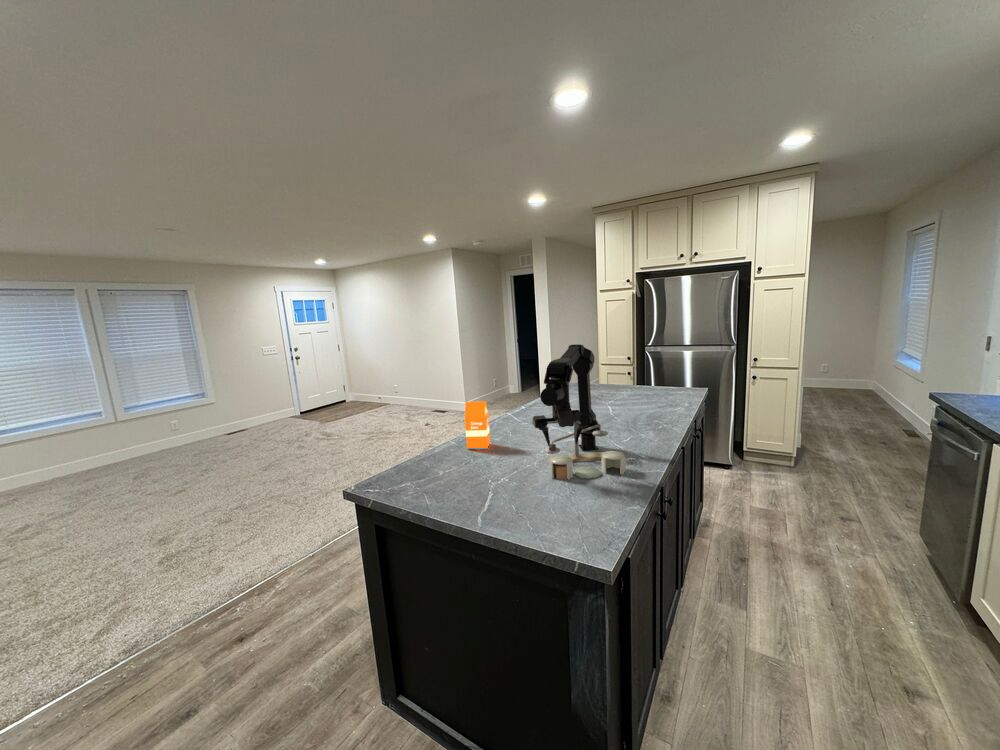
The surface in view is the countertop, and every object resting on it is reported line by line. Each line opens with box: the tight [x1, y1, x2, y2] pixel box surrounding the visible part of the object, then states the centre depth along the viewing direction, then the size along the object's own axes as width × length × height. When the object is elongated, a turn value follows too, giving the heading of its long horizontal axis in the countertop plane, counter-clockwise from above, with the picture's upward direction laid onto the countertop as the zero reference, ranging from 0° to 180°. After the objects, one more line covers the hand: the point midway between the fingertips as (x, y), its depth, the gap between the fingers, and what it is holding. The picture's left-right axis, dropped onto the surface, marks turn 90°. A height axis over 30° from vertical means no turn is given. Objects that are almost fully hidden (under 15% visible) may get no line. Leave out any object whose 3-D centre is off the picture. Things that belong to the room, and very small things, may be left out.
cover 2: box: [601, 450, 626, 475], centre depth 137 cm, size 7×7×6 cm
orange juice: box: [464, 401, 491, 449], centre depth 170 cm, size 8×9×20 cm
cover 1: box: [549, 454, 574, 480], centre depth 136 cm, size 7×7×6 cm
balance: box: [544, 423, 609, 463], centre depth 149 cm, size 24×6×13 cm, turn 94°
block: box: [554, 464, 567, 480], centre depth 136 cm, size 4×4×4 cm
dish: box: [574, 466, 602, 480], centre depth 137 cm, size 9×9×1 cm
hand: (562, 444), depth 134 cm, fingers open, 9 cm apart
